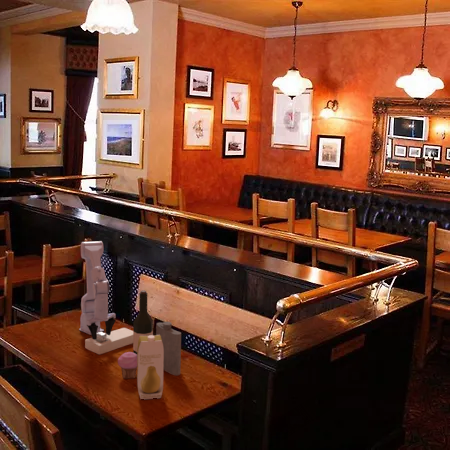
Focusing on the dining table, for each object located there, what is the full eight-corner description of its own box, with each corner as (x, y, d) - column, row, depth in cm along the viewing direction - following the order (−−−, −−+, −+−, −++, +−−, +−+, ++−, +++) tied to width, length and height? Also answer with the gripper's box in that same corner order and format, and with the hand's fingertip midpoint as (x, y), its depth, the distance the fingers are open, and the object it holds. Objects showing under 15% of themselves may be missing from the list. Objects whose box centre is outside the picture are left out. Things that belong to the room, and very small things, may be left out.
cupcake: (118, 382, 236) (118, 358, 234) (117, 372, 244) (117, 349, 242) (141, 380, 238) (141, 357, 236) (139, 371, 246) (139, 348, 244)
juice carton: (138, 401, 221) (138, 339, 216) (136, 391, 228) (136, 331, 224) (163, 399, 223) (164, 338, 218) (161, 389, 230) (161, 330, 226)
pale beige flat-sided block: (85, 348, 268) (85, 339, 267) (124, 335, 284) (124, 327, 283) (99, 354, 261) (99, 345, 261) (138, 341, 278) (138, 333, 277)
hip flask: (181, 374, 245) (182, 327, 241) (173, 376, 242) (174, 329, 239) (160, 361, 257) (161, 316, 253) (152, 363, 254) (153, 318, 251)
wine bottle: (129, 359, 257) (129, 291, 252) (140, 352, 265) (141, 287, 259) (145, 363, 254) (145, 295, 248) (156, 356, 261) (157, 290, 255)
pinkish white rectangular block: (96, 347, 269) (96, 333, 267) (101, 346, 270) (101, 331, 269) (102, 350, 266) (101, 335, 265) (106, 348, 268) (106, 334, 266)
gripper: (93, 313, 257) (93, 343, 259) (120, 306, 268) (120, 335, 270) (83, 309, 261) (83, 339, 264) (110, 302, 272) (110, 330, 275)
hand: (101, 336), depth 267 cm, fingers open, 7 cm apart
